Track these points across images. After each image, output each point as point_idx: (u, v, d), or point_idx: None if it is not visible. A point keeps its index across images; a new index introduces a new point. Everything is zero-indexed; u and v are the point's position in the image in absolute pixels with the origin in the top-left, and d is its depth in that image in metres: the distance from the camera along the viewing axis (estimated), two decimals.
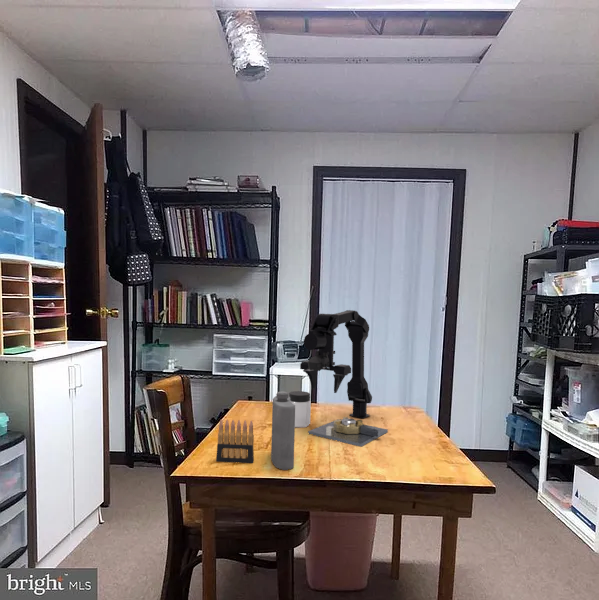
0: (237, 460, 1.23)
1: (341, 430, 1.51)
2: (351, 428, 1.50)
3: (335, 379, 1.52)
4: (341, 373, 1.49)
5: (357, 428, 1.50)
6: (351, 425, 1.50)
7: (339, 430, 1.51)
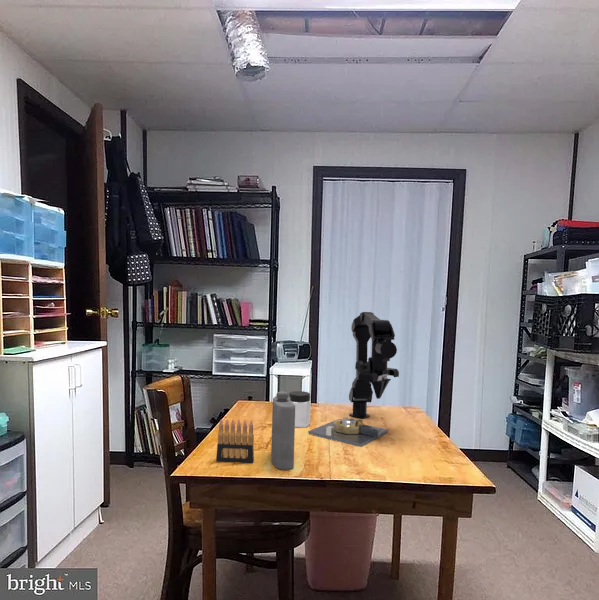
0: (237, 460, 1.23)
1: (341, 430, 1.51)
2: (351, 428, 1.50)
3: None
4: None
5: (357, 428, 1.50)
6: (351, 425, 1.50)
7: (339, 430, 1.51)
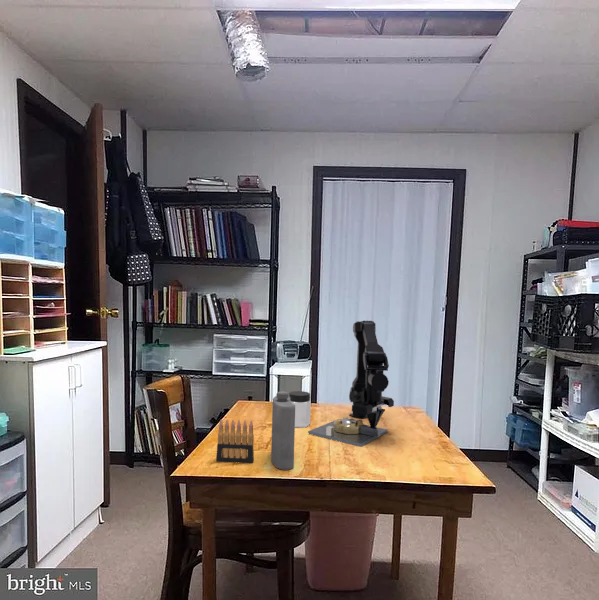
0: (237, 460, 1.23)
1: (341, 430, 1.51)
2: (351, 428, 1.50)
3: None
4: None
5: (357, 428, 1.50)
6: (351, 425, 1.50)
7: (339, 430, 1.51)
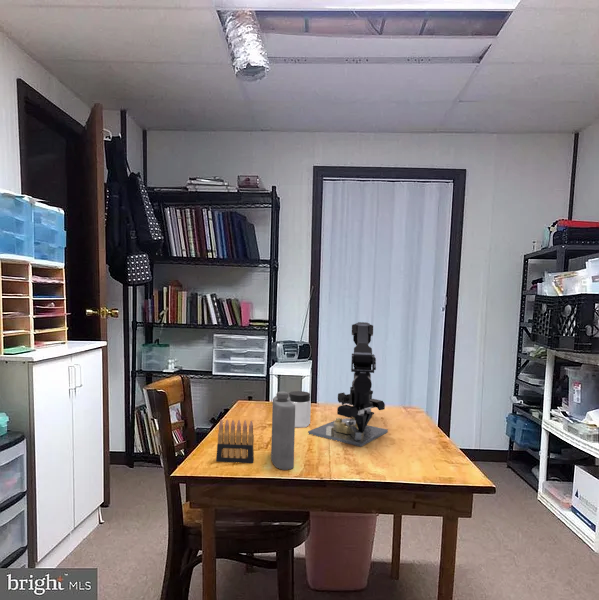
0: (237, 460, 1.23)
1: (335, 428, 1.54)
2: (340, 427, 1.51)
3: None
4: None
5: (346, 428, 1.50)
6: (340, 424, 1.51)
7: (334, 427, 1.55)
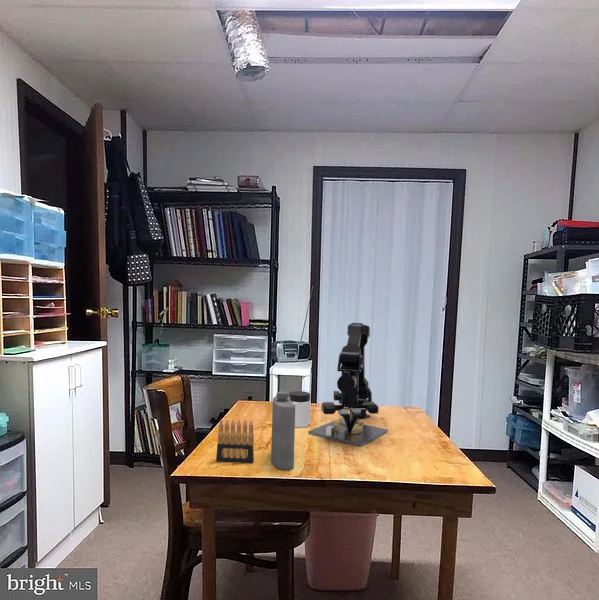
0: (237, 460, 1.23)
1: None
2: (336, 425, 1.53)
3: None
4: None
5: (339, 427, 1.51)
6: (336, 422, 1.53)
7: None
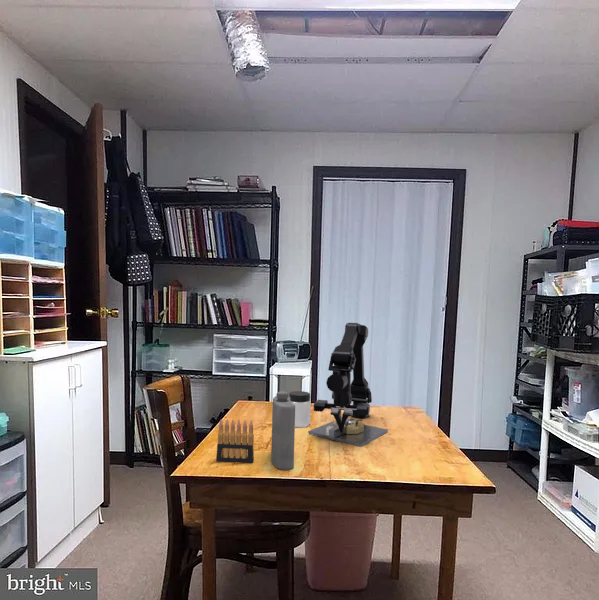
0: (237, 460, 1.23)
1: None
2: (335, 424, 1.55)
3: None
4: None
5: (336, 426, 1.52)
6: (335, 421, 1.55)
7: None
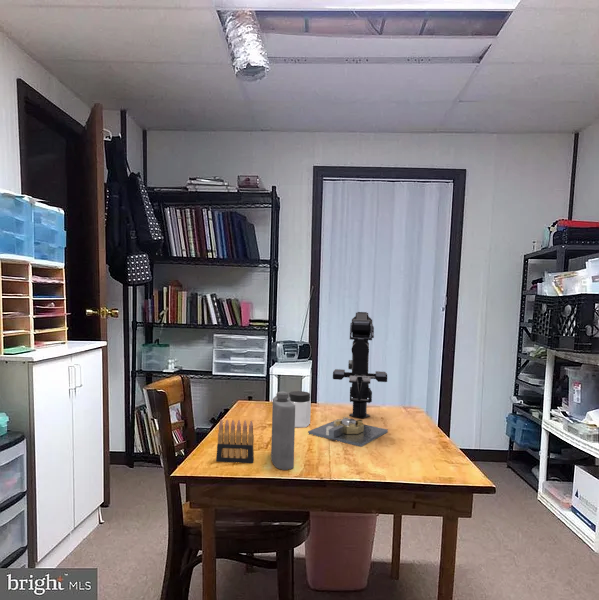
0: (237, 460, 1.23)
1: None
2: (335, 424, 1.55)
3: None
4: None
5: (336, 426, 1.52)
6: (335, 421, 1.55)
7: None
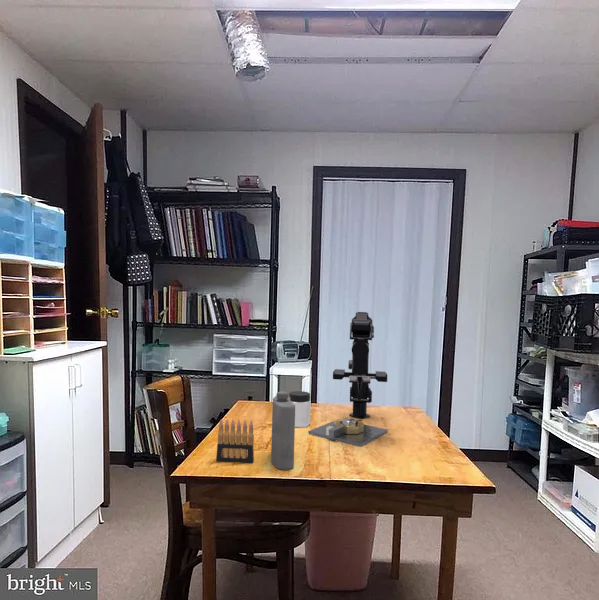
0: (237, 460, 1.23)
1: None
2: (335, 424, 1.55)
3: None
4: None
5: (336, 426, 1.52)
6: (335, 421, 1.55)
7: None
